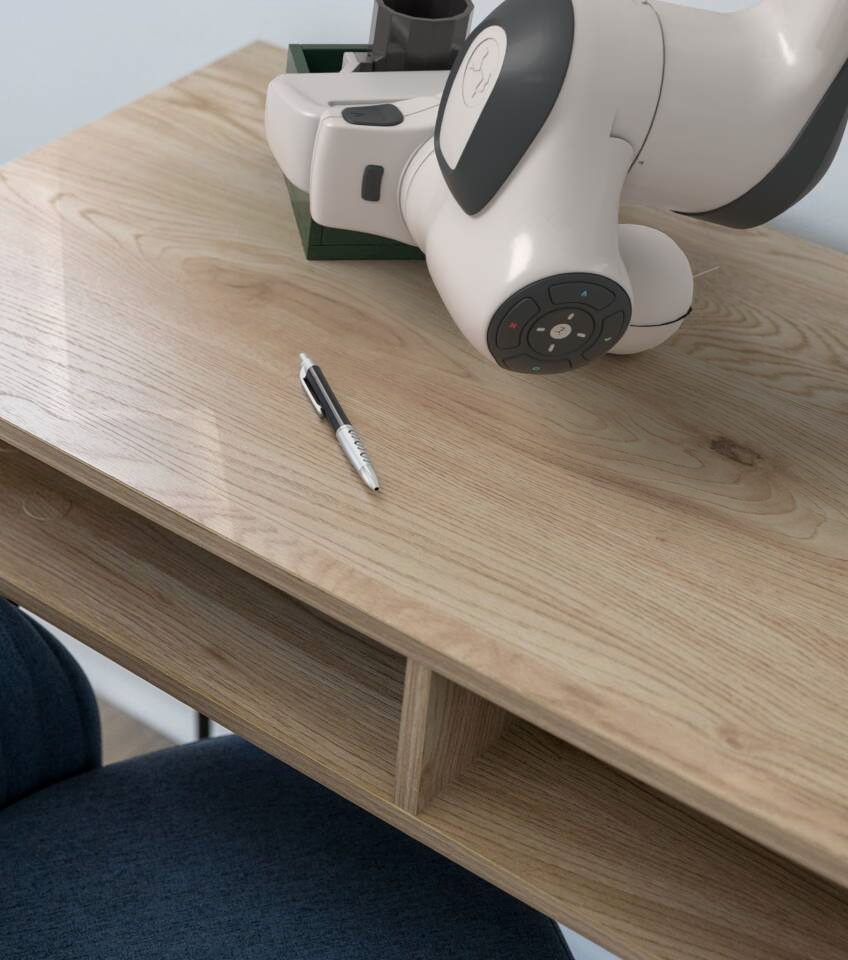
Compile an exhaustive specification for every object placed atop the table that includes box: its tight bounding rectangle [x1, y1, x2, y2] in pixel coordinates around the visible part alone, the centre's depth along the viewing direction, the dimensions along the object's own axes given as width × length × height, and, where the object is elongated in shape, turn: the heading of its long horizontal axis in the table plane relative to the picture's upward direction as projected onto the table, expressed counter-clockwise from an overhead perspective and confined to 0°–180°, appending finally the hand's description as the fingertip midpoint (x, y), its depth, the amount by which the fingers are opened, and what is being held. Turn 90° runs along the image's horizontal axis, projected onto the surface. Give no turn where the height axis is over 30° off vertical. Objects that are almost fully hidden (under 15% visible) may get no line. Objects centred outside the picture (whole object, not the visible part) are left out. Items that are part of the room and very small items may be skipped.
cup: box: [367, 0, 475, 72], centre depth 100 cm, size 6×6×10 cm
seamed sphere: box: [607, 223, 721, 355], centre depth 91 cm, size 10×7×7 cm
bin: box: [282, 43, 426, 260], centre depth 103 cm, size 14×14×8 cm
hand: (409, 61), depth 100 cm, fingers closed on cup, 6 cm apart
